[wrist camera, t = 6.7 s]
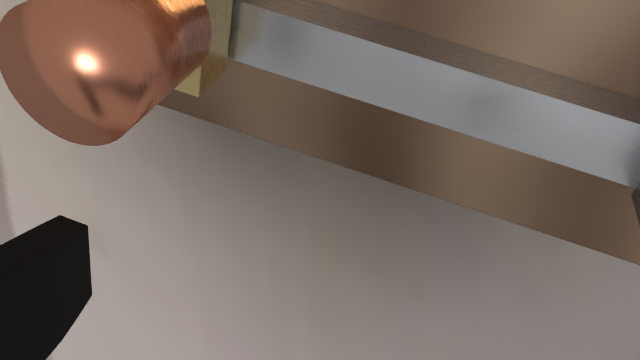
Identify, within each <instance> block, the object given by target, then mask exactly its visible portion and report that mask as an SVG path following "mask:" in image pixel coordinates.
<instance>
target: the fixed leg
mask: <svg viewBox="0 0 640 360" xmlns="http://www.w3.org/2000/svg"><path fill="white" fill-rule="evenodd" d="M631 196H632V200H633V204H634V207H635V211H636V215H637V219H638V222H639V226H640V182H639V184H638V185H637V187H636V188H635V190H634V191H633V193H632V194H631Z"/></svg>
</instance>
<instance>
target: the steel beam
mask: <svg viewBox="0 0 640 360" xmlns="http://www.w3.org/2000/svg"><path fill="white" fill-rule="evenodd" d="M227 58H229V59H232V60H235V61H238V62H241V63H244V64H248V65H251V66H254V67H257V68H260V69H263V70H266V71H269V72H273V73H276V74H279V75H282V76H285V77H288V78H291V79H295V80H298V81H301V82H304V83H307V84H310V85H313V86H316V87H320V88H323V89H326V90H329V91H332V92H335V93H338V94H341V95H345V96H348V97H351V98H354V99H357V100H360V101H363V102H366V103H370V104H373V105H376V106H379V107H382V108H385V109H388V110H392V111H395V112H398V113H401V114H404V115H407V116H410V117H413V118H417V119H420V120H423V121H426V122H429V123H432V124H435V125H438V126H442V127H445V128H448V129H451V130H454V131H457V132H460V133H463V134H467V135H470V136H473V137H476V138H479V139H482V140H485V141H489V142H492V143H495V144H498V145H501V146H504V147H507V148H510V149H514V150H517V151H520V152H523V153H526V154H529V155H532V156H535V157H539V158H542V159H545V160H548V161H551V162H554V163H557V164H561V165H564V166H567V167H570V168H573V169H576V170H579V171H582V172H586V173H589V174H592V175H595V176H598V177H601V178H604V179H607V180H611V181H614V182H617V183H620V184H623V185H626V186H629V187H632V188H636V187H637V185H638V184H639V182H640V99H639V98H635V97H632V96H629V95H625V94H622V93H619V92H616V91H612V90H609V89H606V88H602V87H599V86H596V85H592V84H589V83H586V82H583V81H579V80H576V79H573V78H569V77H566V76H563V75H559V74H556V73H553V72H549V71H546V70H543V69H540V68H536V67H533V66H530V65H526V64H523V63H520V62H516V61H513V60H510V59H507V58H503V57H500V56H497V55H493V54H490V53H487V52H483V51H480V50H477V49H474V48H470V47H467V46H464V45H460V44H457V43H454V42H450V41H447V40H444V39H441V38H437V37H434V36H431V35H427V34H424V33H421V32H417V31H414V30H411V29H408V28H404V27H401V26H398V25H394V24H391V23H388V22H384V21H381V20H378V19H374V18H371V17H368V16H365V15H361V14H358V13H355V12H351V11H348V10H345V9H341V8H338V7H335V6H332V5H328V4H325V3H322V2H318V1H315V0H233V7H232V16H231V26H230V35H229V45H228V54H227Z"/></svg>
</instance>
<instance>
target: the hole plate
mask: <svg viewBox="0 0 640 360" xmlns="http://www.w3.org/2000/svg"><path fill="white" fill-rule="evenodd" d="M315 1H318V2H322V3H325V4H328V5H332V6H335V7H338V8H341V9H345V10H348V11H351V12H355V13H358V14H361V15H365V16H368V17H371V18H374V19H378V20H381V21H384V22H388V23H391V24H394V25H398V26H401V27H404V28H408V29H411V30H414V31H417V32H421V33H424V34H427V35H431V36H434V37H437V38H441V39H444V40H447V41H450V42H454V43H457V44H460V45H464V46H467V47H470V48H474V49H477V50H480V51H483V52H487V53H490V54H493V55H497V56H500V57H503V58H507V59H510V60H513V61H516V62H520V63H523V64H526V65H530V66H533V67H536V68H540V69H543V70H546V71H549V72H553V73H556V74H559V75H563V76H566V77H569V78H573V79H576V80H579V81H583V82H586V83H589V84H592V85H596V86H599V87H602V88H606V89H609V90H612V91H616V92H619V93H622V94H625V95H629V96H632V97H635V98H639V99H640V0H315ZM158 105H161V106H164V107H167V108H170V109H173V110H176V111H179V112H182V113H185V114H188V115H191V116H194V117H197V118H200V119H203V120H206V121H209V122H212V123H215V124H218V125H221V126H224V127H227V128H230V129H233V130H236V131H239V132H242V133H245V134H248V135H251V136H254V137H257V138H260V139H263V140H266V141H269V142H272V143H275V144H278V145H281V146H284V147H287V148H290V149H293V150H296V151H299V152H302V153H305V154H308V155H311V156H314V157H317V158H320V159H323V160H326V161H329V162H332V163H335V164H338V165H341V166H344V167H347V168H350V169H353V170H356V171H359V172H362V173H365V174H368V175H371V176H374V177H377V178H380V179H383V180H386V181H389V182H392V183H395V184H398V185H401V186H404V187H407V188H410V189H413V190H416V191H419V192H422V193H425V194H428V195H431V196H434V197H437V198H440V199H443V200H446V201H449V202H452V203H455V204H458V205H461V206H464V207H467V208H470V209H473V210H476V211H479V212H482V213H485V214H488V215H491V216H494V217H497V218H500V219H503V220H506V221H509V222H512V223H515V224H518V225H521V226H524V227H527V228H530V229H533V230H536V231H539V232H542V233H545V234H548V235H551V236H554V237H557V238H560V239H563V240H566V241H569V242H572V243H575V244H578V245H581V246H584V247H587V248H590V249H593V250H596V251H599V252H602V253H605V254H608V255H611V256H614V257H617V258H620V259H623V260H626V261H629V262H632V263H635V264H638V265H640V226H639V222H638V219H637V215H636V211H635V207H634V204H633V200H632V196H631V194H632V193H633V191H634V190H635V188H632V187H629V186H626V185H623V184H620V183H617V182H614V181H611V180H607V179H604V178H601V177H598V176H595V175H592V174H589V173H586V172H582V171H579V170H576V169H573V168H570V167H567V166H564V165H561V164H557V163H554V162H551V161H548V160H545V159H542V158H539V157H535V156H532V155H529V154H526V153H523V152H520V151H517V150H514V149H510V148H507V147H504V146H501V145H498V144H495V143H492V142H489V141H485V140H482V139H479V138H476V137H473V136H470V135H467V134H463V133H460V132H457V131H454V130H451V129H448V128H445V127H442V126H438V125H435V124H432V123H429V122H426V121H423V120H420V119H417V118H413V117H410V116H407V115H404V114H401V113H398V112H395V111H392V110H388V109H385V108H382V107H379V106H376V105H373V104H370V103H366V102H363V101H360V100H357V99H354V98H351V97H348V96H345V95H341V94H338V93H335V92H332V91H329V90H326V89H323V88H320V87H316V86H313V85H310V84H307V83H304V82H301V81H298V80H295V79H291V78H288V77H285V76H282V75H279V74H276V73H273V72H269V71H266V70H263V69H260V68H257V67H254V66H251V65H248V64H244V63H241V62H238V61H235V60H232V59H229V58H227V64H226V71H225V72H224V73H223V74H222V75H221V76H220V77H219V78H218V79H217V80H216V81H215V82H214V83H213V84H212V85H211V86H210V87H209V88H208V89H207V90H206V91H205V92H204V93H203V94H202V95H201V96H200V97H196V96H193V95H190V94H187V93H184V92H181V91H178V90H175V89H174V90H173V91H172V92H170V93H169V94H168V95H167V96H166V97H165V98H164V99H163V100H162V101H160V102H159V103H158Z"/></svg>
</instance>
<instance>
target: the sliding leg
mask: <svg viewBox="0 0 640 360" xmlns="http://www.w3.org/2000/svg"><path fill="white" fill-rule="evenodd" d="M232 7H233V0H28V1H26V2H24V3H21V4H19V5H17V6H15V7H14V8H12V9H11V10H9V11H8V12H7V14H6V15H5V16H4V17H3V19H2V20H1V22H0V70H1V73H2V76H3V78H4V80H5V82H6V84H7V86H8V88H9V90H10V91H11V93H12V94H13V96H14V97H15V99H16V100H17V101H18V103H19V104H20V105H21V106H22V108H23V109H24V110H25V111H26V112H27V113H28V114H29V115H30V116H31V117H32V118H33V119H34V120H35V121H36V122H38V123H39V124H40V125H41V126H43V127H44V128H45V129H47V130H48V131H50V132H52V133H53V134H55V135H57V136H59V137H61V138H63V139H65V140H68V141H70V142H74V143H77V144H82V145H89V146H98V145H105V144H108V143H111V142H113V141H116V140H117V139H119V138H120V137H121V136H123V135H124V134H125V133H126V132H127V131H128V130H129V129H130V128H131V127H133V126H134V125H135V124H136V123H137V122H138V121H139V120H140V119H142V118H143V117H144V116H145V115H146V114H147V113H148V112H149V111H150V110H152V109H153V108H154V107H155V106H156V105H157V104H158V103H159V102H160V101H162V100H163V99H164V98H165V97H166V96H167V95H168V94H169V93H170V92H172V91H173V90H174V89H175V90H178V91H181V92H184V93H187V94H190V95H193V96H196V97H200V96H201V95H202V94H203V93H204V92H205V91H206V90H207V89H208V88H209V87H210V86H211V85H212V84H213V83H214V82H215V81H216V80H217V79H218V78H219V77H220V76H221V75H222V74H223V73H224V72H225V71H226V64H227V54H228V45H229V35H230V26H231V16H232Z"/></svg>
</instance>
